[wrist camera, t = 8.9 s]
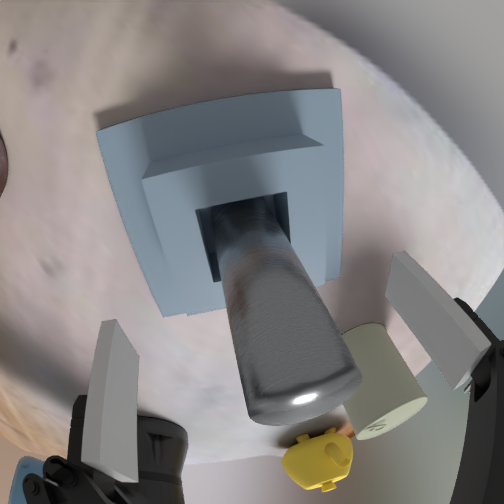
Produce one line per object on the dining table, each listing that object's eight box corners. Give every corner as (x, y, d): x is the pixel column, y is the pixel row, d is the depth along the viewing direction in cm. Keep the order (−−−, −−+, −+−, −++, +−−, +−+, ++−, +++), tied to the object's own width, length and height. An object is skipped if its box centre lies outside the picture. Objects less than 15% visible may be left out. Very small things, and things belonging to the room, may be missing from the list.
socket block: (163, 309, 25) (161, 348, 21) (100, 129, 16) (75, 143, 12) (335, 270, 26) (356, 302, 22) (334, 88, 17) (368, 92, 13)
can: (338, 325, 31) (384, 414, 21) (396, 319, 33) (444, 390, 23) (313, 373, 36) (344, 450, 26) (368, 363, 38) (402, 429, 28)
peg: (216, 244, 21) (255, 433, 10) (205, 194, 19) (238, 388, 7) (270, 233, 21) (352, 405, 10) (264, 182, 19) (372, 349, 8)
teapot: (292, 423, 45) (312, 489, 34) (364, 407, 49) (389, 462, 37) (271, 455, 55) (285, 504, 44) (330, 442, 59) (347, 486, 48)
